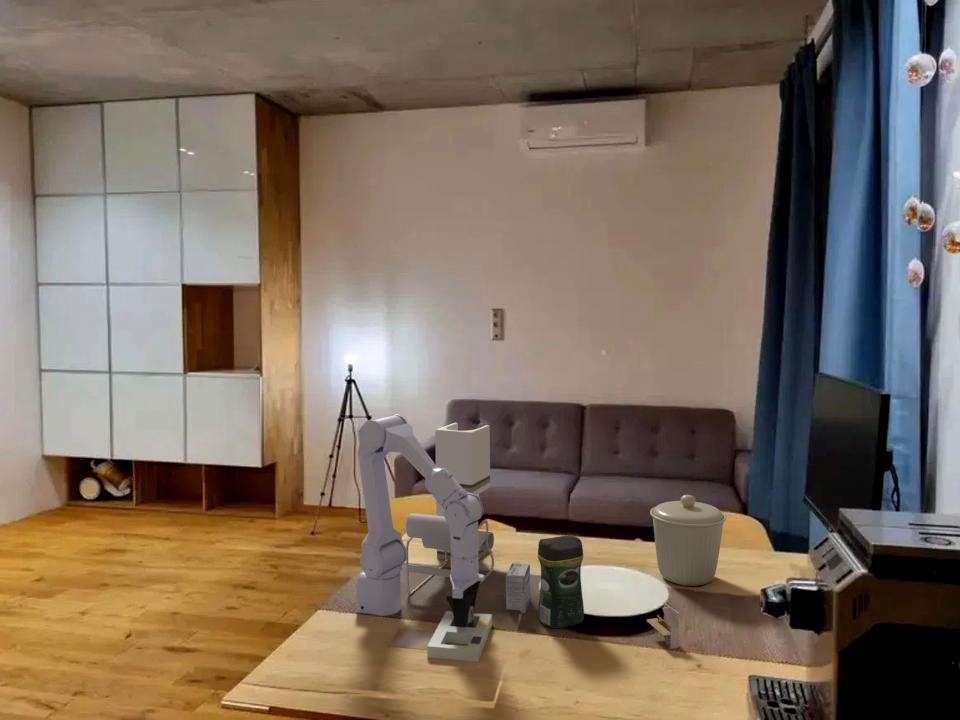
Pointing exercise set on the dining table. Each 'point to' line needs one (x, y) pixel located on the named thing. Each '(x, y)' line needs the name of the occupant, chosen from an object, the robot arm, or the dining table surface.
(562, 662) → the dining table surface
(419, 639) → the brown square tile
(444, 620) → the port box
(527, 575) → the medicine box
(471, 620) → the plug
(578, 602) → the coffee jar
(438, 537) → the chair
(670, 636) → the architectural model
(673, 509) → the canister
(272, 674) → the dining table surface
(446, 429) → the tall white box
